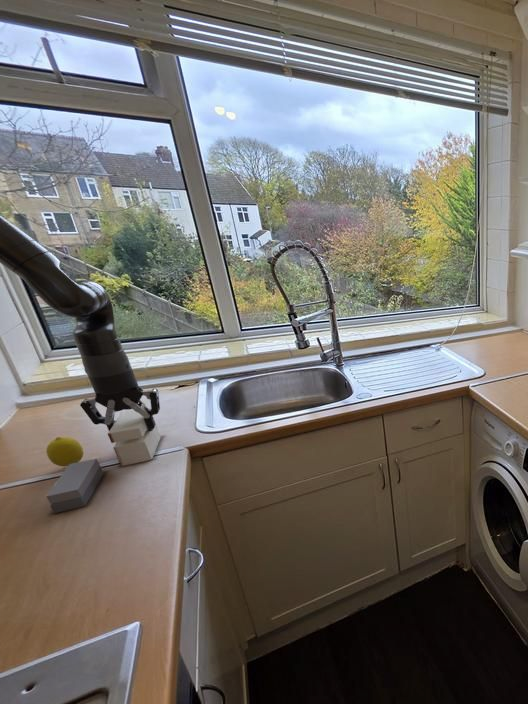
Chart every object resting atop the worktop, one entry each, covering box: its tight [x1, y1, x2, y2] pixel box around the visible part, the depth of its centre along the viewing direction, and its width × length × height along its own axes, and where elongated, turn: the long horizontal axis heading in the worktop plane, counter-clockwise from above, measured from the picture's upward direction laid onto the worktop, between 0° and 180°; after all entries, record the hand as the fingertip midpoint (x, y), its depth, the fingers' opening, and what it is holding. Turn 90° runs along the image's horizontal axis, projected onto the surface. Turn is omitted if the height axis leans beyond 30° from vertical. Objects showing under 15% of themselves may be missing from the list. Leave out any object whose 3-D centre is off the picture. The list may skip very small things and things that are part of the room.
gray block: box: [46, 458, 104, 514], centre depth 87 cm, size 5×13×4 cm, turn 30°
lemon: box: [46, 436, 84, 467], centre depth 94 cm, size 6×6×8 cm
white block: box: [113, 419, 162, 467], centre depth 101 cm, size 6×12×5 cm, turn 30°
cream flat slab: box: [107, 407, 151, 444], centre depth 99 cm, size 6×12×3 cm, turn 30°
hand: (134, 432), depth 100 cm, fingers closed on cream flat slab, 5 cm apart
